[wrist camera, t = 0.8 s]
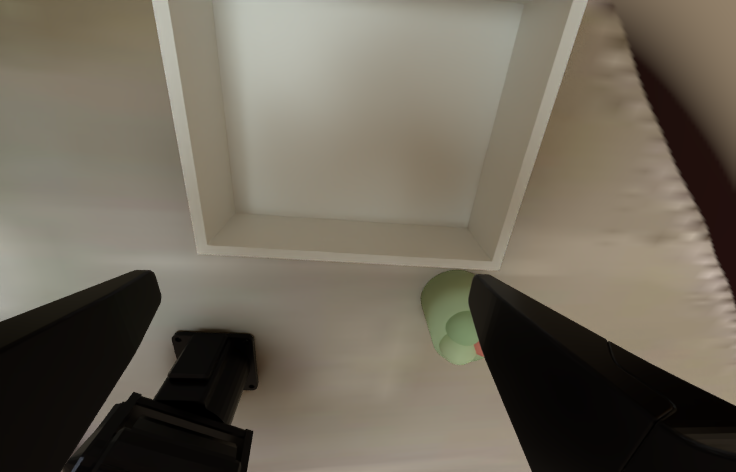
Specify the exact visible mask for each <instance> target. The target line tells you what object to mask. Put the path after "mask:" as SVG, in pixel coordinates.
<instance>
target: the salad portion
mask: <svg viewBox="0 0 736 472" xmlns="http://www.w3.org/2000/svg"><path fill="white" fill-rule="evenodd" d="M474 276H475V275H474V274H473V273H471V272H468V271H464V270H450V271H446V272H443V273H441V274H438V275H437V276H435V277H434V278H432V279H431V280H430V281H429V282H428V283H427V284H426V286H425V287H424V289H423V291H422V294H421V304H422V308H423V311H424V315H425V318H426V321H427V325H428V328H429V332H430V335H431V338H432V342H433V345H434V348H435V350H436V351H437V352H438V353H439V354H440V355H441V356H442V357H444V358H445V359H446V360H447V361H449V362H450V363H453V364H456V365H465V364H467V363H469V362H472V361H477V360H480V359H483V358H484V355H483V352H482V349H481V346H480V343H479V340H478V336H477V333H476V329H475V326H474V322H473V319H472V315H471V312H470V308H469V304H468V297H469V292H470V288H471V284H472V279H473V277H474Z"/></svg>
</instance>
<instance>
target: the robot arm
mask: <svg viewBox="0 0 736 472" xmlns="http://www.w3.org/2000/svg"><path fill="white" fill-rule="evenodd" d="M160 303H161V292H160V289H159V286H158V282H157V279H156V276H155V274H154V272H152V271H151V270H134V271H131V272H129V273H126V274H124V275H121V276H118V277H116V278H113V279H111V280H108V281H105V282H103V283H100V284H98V285H95V286H92V287H90V288H87V289H85V290H82V291H79V292H77V293H74V294H72V295H69V296H66V297H64V298H61V299H59V300H56V301H53V302H51V303H48V304H46V305H43V306H40V307H38V308H35V309H33V310H30V311H27V312H25V313H22V314H20V315H17V316H14V317H12V318H9V319H7V320H4V321H1V322H0V472H61V470H62V469H63V470H62V471H63V472H247V467H248V461H249V455H250V449H251V443H252V436H253V431H251V430H248V429H246V430H244V429H241V428H238V427H235V426H232V425H231V423H232V420H233V417H234V414H235V411H236V409H237V406H238V403H239V400H240V397H241V395H242V392H243V390H255V389H256V388H257V386H258V375H257V365H256V355H255V345H254V338H253V337H252V336H251V335H248V334H226V333H199V332H176V333H175V334H174V336H173V337H172V342H173V346H174V350H175V354H176V358H177V361H176V362H175V364H174V365H173V367H172V369H171V370H170V372H169V373H168V377H167V378H166V380H165V381H164V383H163V385H162V386H161V388H160V389H159V391H158V393H157V394H156V396H155V397H154V399H153V400H152V399H149V398H146V397H143V396H141V395H142V394H139V393H136V392H133V393H132V395H131V396H130V397H129V399H128V400H127V401H125V402H122V403H120V404H115V405H114V406H113V408H112V409H111V410H110V412H109V413H108V415H107V416H106V417H105V419H104V420H103V421H102V423H101V424H100V425H99V427H98V428H97V429H96V430H95V431H94V433H93V434H92V435H91V436H90V437H89V438H88V439H87V440H86V441H85V442H84V443H83V445H82V446H81V447H80V448H79V449H78V450H77V451H76V452H75V453H74V454H73V455H72V453H73V451H74V450H75V448H76V447H77V445H78V444H79V442H80V440H81V439H82V437H83V436H84V434H85V432H86V431H87V429H88V428H89V426H90V425H91V423H92V421H93V420H94V418H95V417H96V415H97V413H98V412H99V410H100V409H101V407H102V406H103V404H104V402H105V401H106V399H107V398H108V396H109V394H110V393H111V391H112V390H113V388H114V387H115V385H116V383H117V382H118V380H119V379H120V377H121V375H122V374H123V372H124V371H125V369H126V368H127V366H128V364H129V363H130V361H131V360H132V358H133V356H134V355H135V353H136V351H137V349H138V347H139V345H140V344H141V342H142V340H143V337H144V335H145V333H146V331H147V329H148V327H149V325H150V323H151V321H152V319H153V317H154V315H155V313H156V311H157V309H158V307H159V305H160ZM468 304H469V308H470V312H471V315H472V319H473V322H474V326H475V329H476V333H477V336H478V340H479V343H480V346H481V349H482V352H483V355H484V358H485V360H486V362H487V365H488V367H489V370H490V372H491V374H492V377H493V379H494V382H495V384H496V386H497V389H498V391H499V394H500V396H501V399H502V401H503V403H504V406H505V408H506V411H507V413H508V415H509V418H510V420H511V423H512V425H513V427H514V430H515V432H516V435H517V437H518V439H519V442H520V444H521V447H522V449H523V451H524V454H525V456H526V459H527V461H528V463H529V466H530V468H531V471H532V472H736V406H735V405H733V404H731V403H729V402H727V401H725V400H723V399H721V398H719V397H717V396H715V395H713V394H711V393H709V392H707V391H704V390H702V389H700V388H698V387H696V386H694V385H692V384H690V383H688V382H686V381H684V380H682V379H680V378H678V377H676V376H674V375H672V374H670V373H668V372H666V371H665V370H663V369H661V368H659V367H657V366H655V365H653V364H651V363H649V362H647V361H645V360H643V359H641V358H640V357H638V356H636V355H634V354H632V353H630V352H628V351H626V350H625V349H623V348H621V347H619V346H617V345H616V344H614V343H612V342H610V341H608V342H607V340H606V339H605V338H603V337H601V336H599V335H597V334H596V333H594V332H592V331H590V330H588V329H587V328H585V327H583V326H581V325H579V324H578V323H576V322H574V321H572V320H570V319H568V318H567V317H565V316H563V315H561V314H559V313H558V312H556V311H554V310H552V309H550V308H549V307H547V306H545V305H543V304H541V303H540V302H538V301H536V300H534V299H532V298H530V297H529V296H527V295H525V294H523V293H521V292H520V291H518V290H516V289H514V288H512V287H511V286H509V285H507V284H505V283H503V282H502V281H500V280H498V279H496V278H494V277H492V276H491V275H487V274H476V275H475V276H474V277H473V279H472V284H471V288H470V292H469V297H468ZM246 340H248V341H246ZM71 455H72V457H71V458H70V456H71ZM69 458H70V459H69ZM68 459H69V460H68ZM67 461H68V462H67ZM63 467H64V468H63Z"/></svg>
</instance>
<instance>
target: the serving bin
mask: <svg viewBox="0 0 736 472" xmlns="http://www.w3.org/2000/svg"><path fill="white" fill-rule="evenodd" d="M587 2H588V0H152V3H153V9H154V14H155V20H156V26H157V31H158V37H159V42H160V48H161V53H162V59H163V65H164V70H165V76H166V81H167V87H168V92H169V98H170V104H171V109H172V115H173V120H174V126H175V132H176V137H177V143H178V148H179V154H180V159H181V165H182V171H183V176H184V182H185V187H186V193H187V198H188V204H189V210H190V215H191V221H192V226H193V232H194V237H195V243H196V249H197V254H205V255H223V256H241V257H259V258H277V259H295V260H313V261H331V262H349V263H367V264H385V265H403V266H421V267H439V268H457V269H475V270H493V271H499V270H500V267H501V264H502V261H503V258H504V255H505V252H506V249H507V246H508V242H509V239H510V236H511V233H512V230H513V227H514V224H515V221H516V218H517V215H518V212H519V209H520V206H521V203H522V200H523V197H524V194H525V191H526V188H527V185H528V181H529V178H530V175H531V172H532V169H533V166H534V163H535V160H536V157H537V154H538V151H539V148H540V145H541V142H542V139H543V136H544V133H545V130H546V127H547V124H548V120H549V117H550V114H551V111H552V108H553V105H554V102H555V99H556V96H557V93H558V90H559V87H560V84H561V81H562V78H563V75H564V72H565V69H566V66H567V63H568V59H569V56H570V53H571V50H572V47H573V44H574V41H575V38H576V35H577V32H578V29H579V26H580V23H581V20H582V17H583V14H584V11H585V8H586V5H587Z"/></svg>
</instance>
